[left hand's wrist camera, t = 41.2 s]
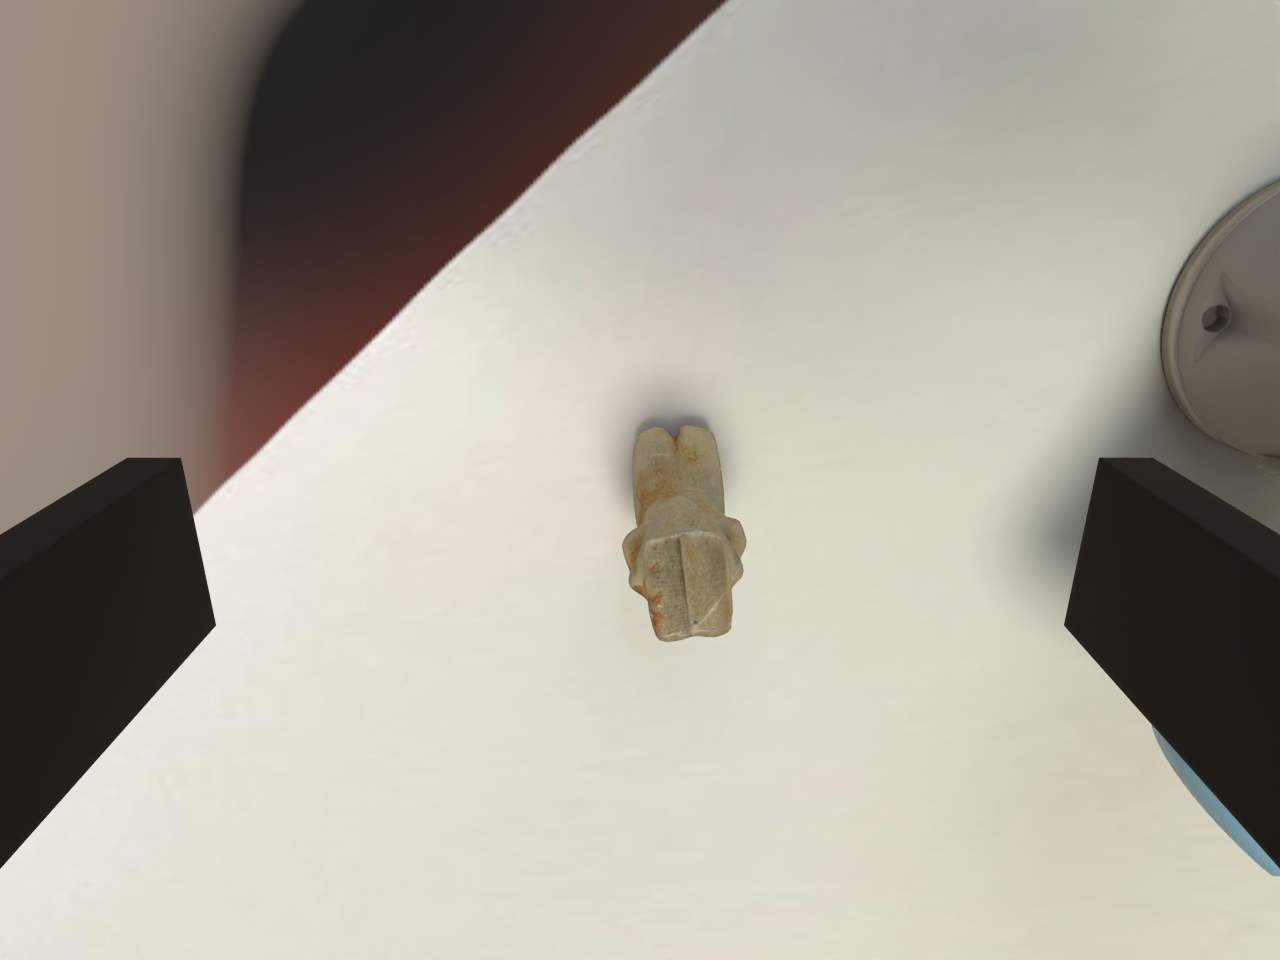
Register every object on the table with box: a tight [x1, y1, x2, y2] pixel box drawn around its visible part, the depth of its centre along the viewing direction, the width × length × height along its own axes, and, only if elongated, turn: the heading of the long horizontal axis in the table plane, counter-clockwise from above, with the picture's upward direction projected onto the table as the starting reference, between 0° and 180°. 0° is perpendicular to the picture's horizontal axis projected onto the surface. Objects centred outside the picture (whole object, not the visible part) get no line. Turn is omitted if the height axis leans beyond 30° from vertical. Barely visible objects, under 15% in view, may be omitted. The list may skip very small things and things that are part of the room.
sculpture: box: [622, 425, 746, 642], centre depth 41 cm, size 6×7×15 cm
